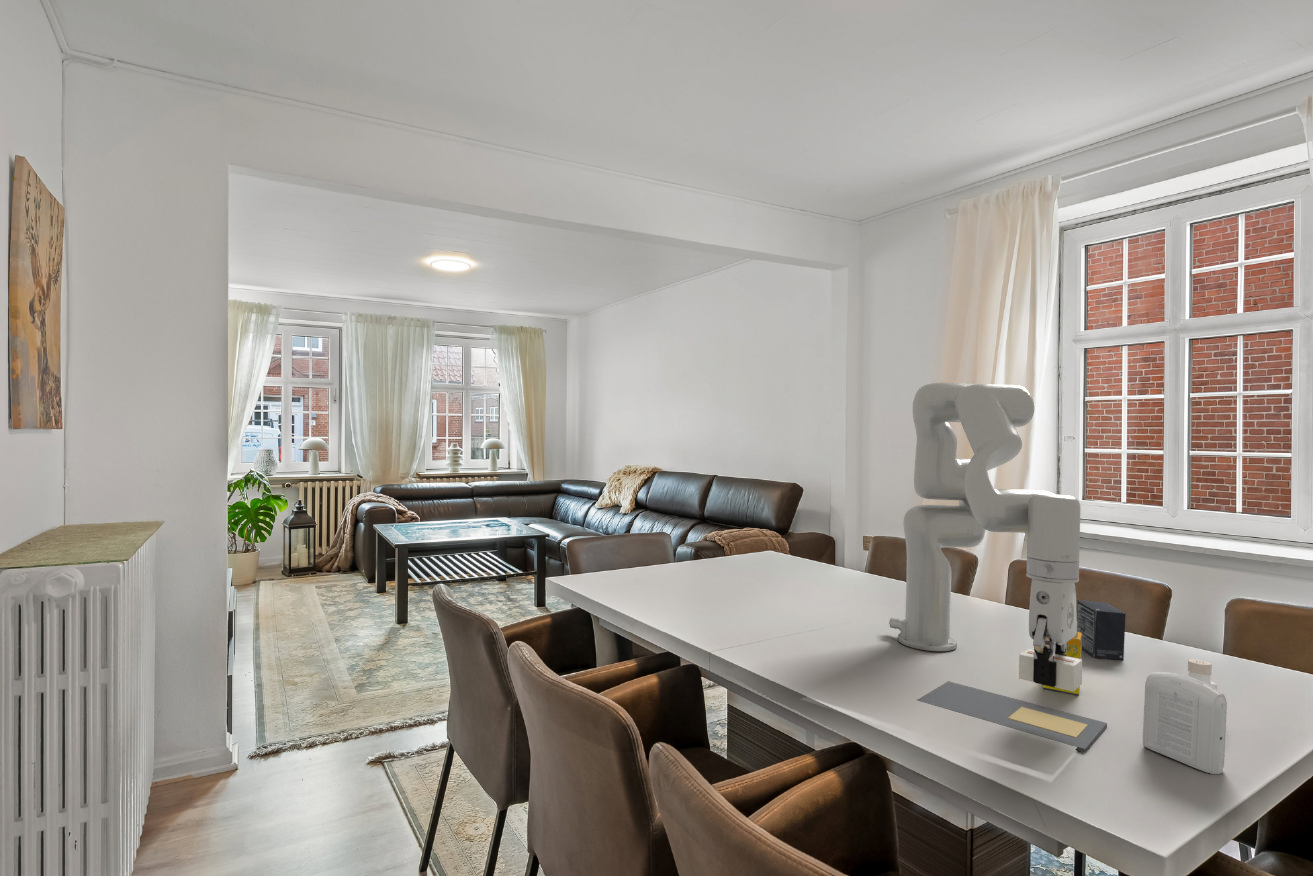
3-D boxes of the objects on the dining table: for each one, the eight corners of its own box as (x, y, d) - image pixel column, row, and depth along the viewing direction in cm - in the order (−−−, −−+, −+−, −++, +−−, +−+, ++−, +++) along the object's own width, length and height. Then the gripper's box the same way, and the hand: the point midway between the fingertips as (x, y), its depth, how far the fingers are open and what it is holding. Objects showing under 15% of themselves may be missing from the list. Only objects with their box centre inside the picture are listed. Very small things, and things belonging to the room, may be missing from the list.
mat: (916, 703, 124) (916, 699, 124) (948, 684, 134) (948, 680, 134) (1085, 753, 106) (1085, 748, 106) (1107, 726, 116) (1107, 722, 116)
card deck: (1073, 691, 111) (1074, 665, 111) (1018, 678, 116) (1019, 653, 116) (1081, 684, 114) (1082, 659, 114) (1028, 672, 120) (1028, 647, 120)
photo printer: (1230, 772, 101) (1233, 686, 100) (1212, 777, 99) (1215, 690, 99) (1154, 742, 110) (1157, 664, 110) (1137, 747, 108) (1139, 667, 108)
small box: (1126, 661, 151) (1128, 612, 151) (1093, 658, 152) (1094, 610, 152) (1105, 646, 162) (1107, 601, 161) (1074, 644, 163) (1075, 599, 163)
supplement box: (1079, 699, 128) (1081, 639, 128) (1042, 692, 131) (1044, 633, 131) (1080, 689, 133) (1082, 632, 133) (1044, 683, 136) (1046, 626, 136)
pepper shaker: (1203, 723, 118) (1205, 666, 118) (1178, 714, 122) (1180, 659, 122) (1218, 719, 120) (1219, 664, 120) (1192, 711, 123) (1194, 657, 123)
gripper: (1063, 579, 107) (1060, 699, 106) (1091, 567, 119) (1089, 675, 119) (1010, 572, 112) (1007, 686, 112) (1042, 561, 124) (1040, 664, 124)
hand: (1049, 679), depth 115 cm, fingers closed on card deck, 4 cm apart
